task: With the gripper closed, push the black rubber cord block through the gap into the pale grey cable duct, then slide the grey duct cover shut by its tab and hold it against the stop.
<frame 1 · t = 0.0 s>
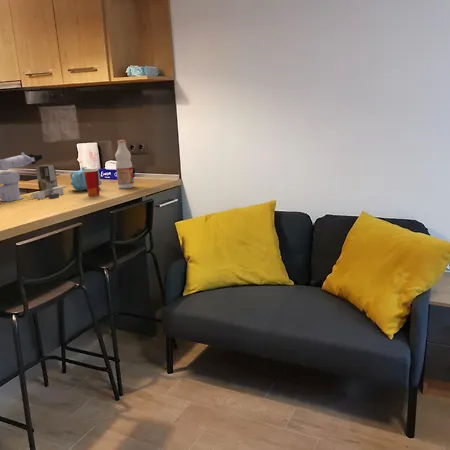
hand: (37, 156, 267), 22 cm above the worktop, tool horizontal, fingers open, 7 cm apart
coffee box: (49, 192, 276), on the worktop
cord block: (54, 198, 257), on the worktop
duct: (48, 196, 262), on the worktop
coffee cup: (93, 195, 258), on the worktop
duct cover: (55, 185, 265), point 5 cm above the worktop, slide at 7.0 cm
fruit juice: (126, 187, 280), on the worktop
decorative pot: (87, 190, 279), on the worktop
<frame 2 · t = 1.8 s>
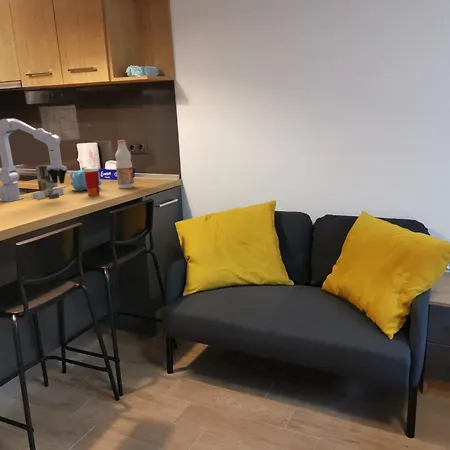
hand: (58, 183, 251), 8 cm above the worktop, tool pointing down, fingers open, 5 cm apart
nothing on the worktop moved.
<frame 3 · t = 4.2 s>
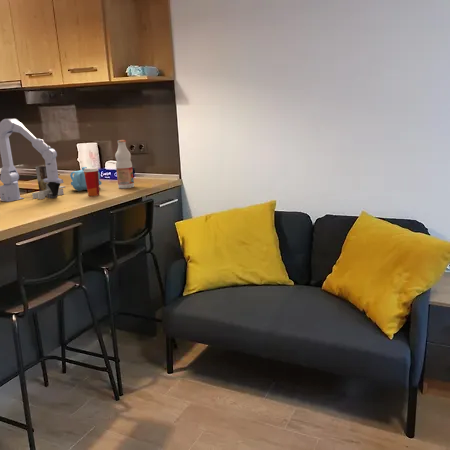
hand: (55, 195, 256), 1 cm above the worktop, tool pointing down, fingers closed
cord block: (52, 197, 257), on the worktop, touching gripper
everything else where it was.
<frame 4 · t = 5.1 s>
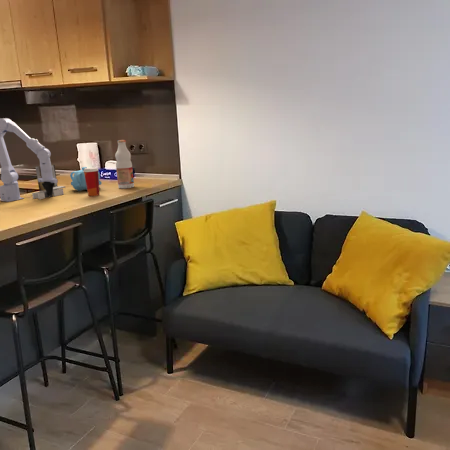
hand: (50, 195, 258), 1 cm above the worktop, tool pointing down, fingers closed
cord block: (47, 196, 260), on the worktop, touching gripper
duct cover: (55, 185, 265), point 5 cm above the worktop, slide at 7.0 cm, touching gripper
everything else where it was.
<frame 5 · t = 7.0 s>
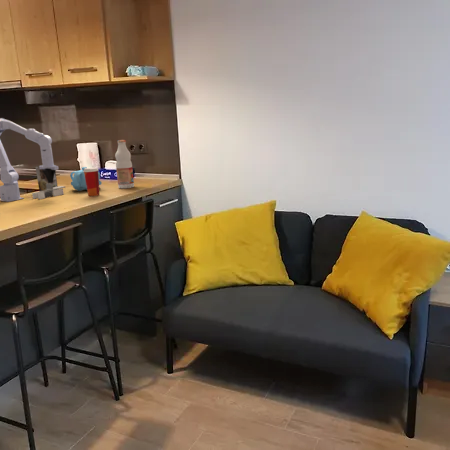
hand: (50, 182, 255), 8 cm above the worktop, tool pointing down, fingers closed
cord block: (46, 197, 261), on the worktop
duct cover: (55, 185, 265), point 5 cm above the worktop, slide at 7.0 cm
everything else where it was.
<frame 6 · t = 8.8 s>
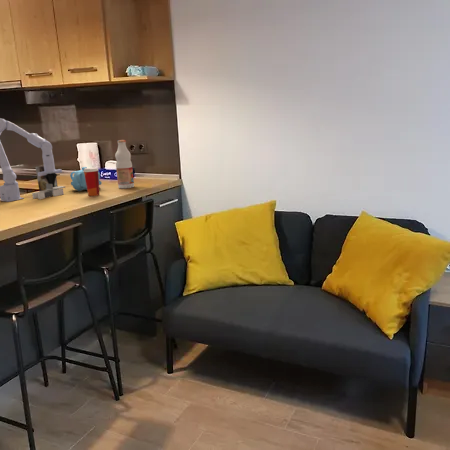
hand: (52, 186, 263), 5 cm above the worktop, tool pointing down, fingers closed
duct cover: (55, 185, 265), point 5 cm above the worktop, slide at 7.0 cm, touching gripper
everything else where it was.
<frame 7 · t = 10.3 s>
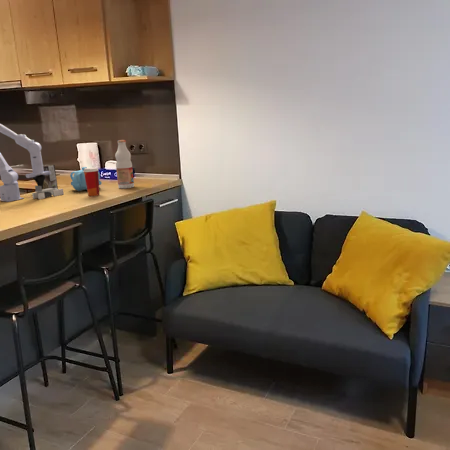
hand: (40, 189, 257), 5 cm above the worktop, tool pointing down, fingers closed
duct cover: (44, 187, 259), point 5 cm above the worktop, slide at -0.1 cm, touching gripper
everything else where it was.
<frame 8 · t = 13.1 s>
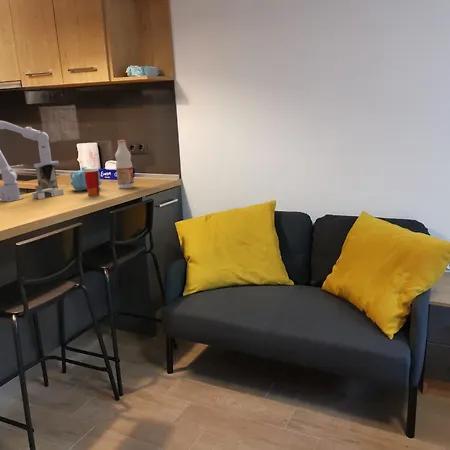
hand: (48, 178, 260), 10 cm above the worktop, tool pointing down, fingers closed
duct cover: (44, 187, 259), point 5 cm above the worktop, slide at 0.0 cm
everything else where it was.
at the end: cord block 0.4 cm from the target spot on the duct, point 0.0 cm above the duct's base; duct cover slide at 0.0 cm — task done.
